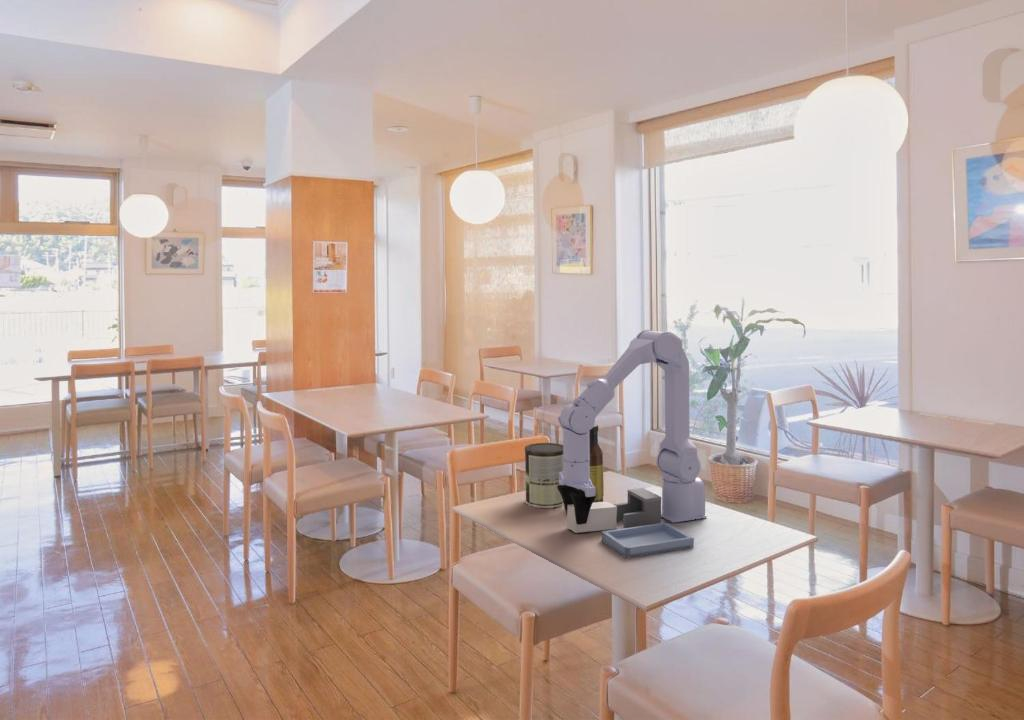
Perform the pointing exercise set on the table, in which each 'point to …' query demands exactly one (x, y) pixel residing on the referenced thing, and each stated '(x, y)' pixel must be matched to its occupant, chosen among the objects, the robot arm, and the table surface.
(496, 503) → the table surface
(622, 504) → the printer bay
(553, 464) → the coffee can
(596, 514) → the white block with knob
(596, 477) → the sauce bottle
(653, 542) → the tray
